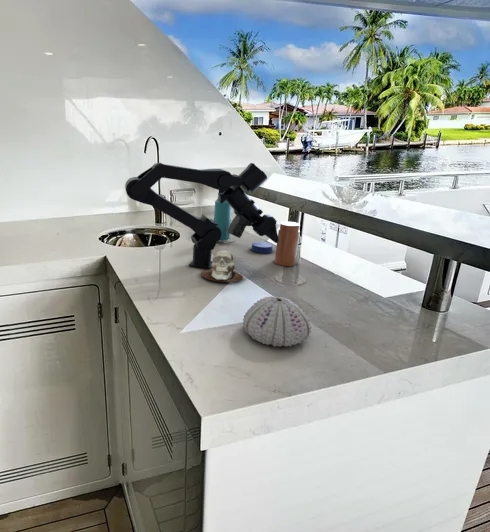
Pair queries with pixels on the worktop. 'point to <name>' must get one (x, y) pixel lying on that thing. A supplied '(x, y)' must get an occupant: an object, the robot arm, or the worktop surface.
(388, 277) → the worktop surface
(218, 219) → the beverage bottle
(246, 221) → the robot arm
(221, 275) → the skull
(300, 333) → the sea urchin shell
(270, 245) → the jar lid
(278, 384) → the worktop surface
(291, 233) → the jar
